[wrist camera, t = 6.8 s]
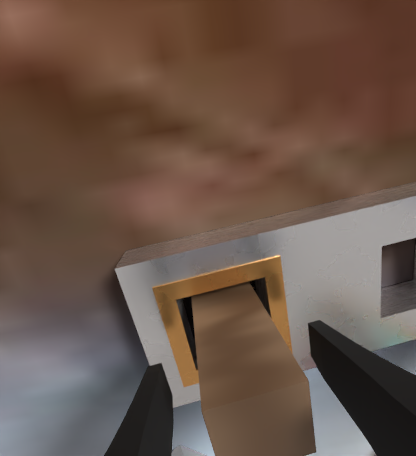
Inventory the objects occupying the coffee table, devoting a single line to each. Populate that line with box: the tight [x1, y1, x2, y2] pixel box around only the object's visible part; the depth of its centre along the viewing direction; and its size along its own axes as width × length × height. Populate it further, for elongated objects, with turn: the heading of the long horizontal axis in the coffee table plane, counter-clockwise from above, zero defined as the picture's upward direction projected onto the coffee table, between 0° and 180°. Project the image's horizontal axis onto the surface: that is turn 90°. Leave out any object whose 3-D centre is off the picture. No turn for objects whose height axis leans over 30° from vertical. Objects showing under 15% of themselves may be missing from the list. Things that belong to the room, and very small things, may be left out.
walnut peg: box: [191, 281, 316, 456], centre depth 12 cm, size 4×4×8 cm
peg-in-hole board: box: [115, 182, 416, 408], centre depth 14 cm, size 22×10×3 cm, turn 102°
